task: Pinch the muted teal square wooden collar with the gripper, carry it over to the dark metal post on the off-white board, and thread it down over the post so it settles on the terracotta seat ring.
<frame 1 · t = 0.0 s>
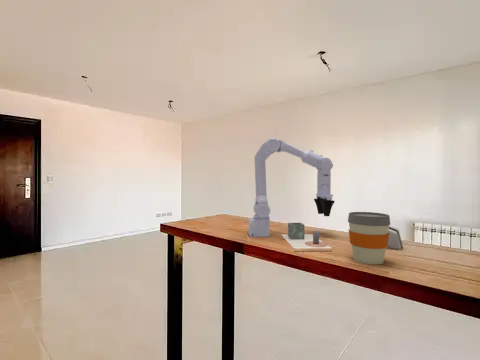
hand: (323, 214, 121), 10 cm above the table, tool pointing down, fingers open, 7 cm apart
post board: (303, 243, 110), on the table
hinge: (377, 246, 108), on the table
reusable coffee cup: (368, 260, 88), on the table
collar: (296, 237, 115), point 1 cm above the table, touching post board
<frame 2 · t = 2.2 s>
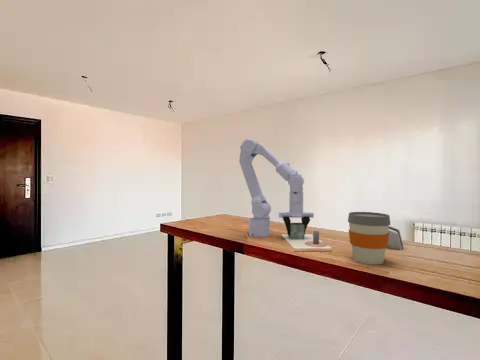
hand: (296, 234, 115), 3 cm above the table, tool pointing down, fingers closed on collar, 6 cm apart
collar: (296, 237, 115), point 1 cm above the table, touching gripper, post board
everything else where it was.
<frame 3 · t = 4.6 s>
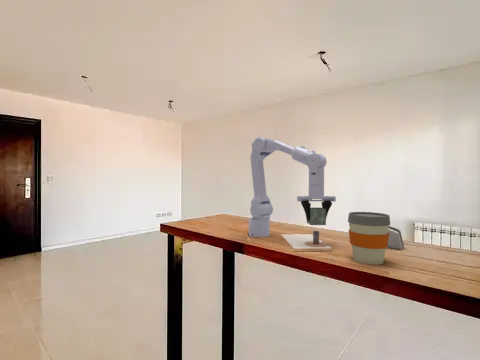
hand: (316, 220, 104), 10 cm above the table, tool pointing down, fingers closed on collar, 6 cm apart
collar: (316, 223, 104), point 9 cm above the table, touching gripper
everything else where it was.
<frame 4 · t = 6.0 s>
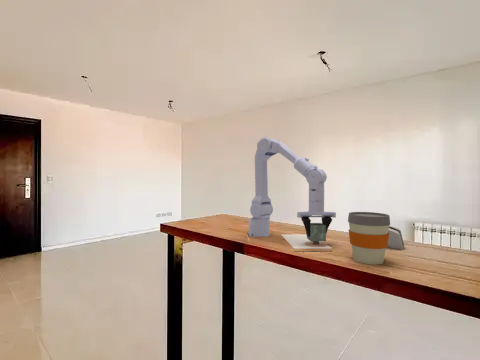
hand: (316, 236, 104), 4 cm above the table, tool pointing down, fingers closed on collar, 6 cm apart
collar: (316, 239, 104), point 3 cm above the table, touching gripper
everything else where it was.
when the fingers open (4 cm above the table, at t = 7.1 s): collar drops 1 cm, resting on post board.
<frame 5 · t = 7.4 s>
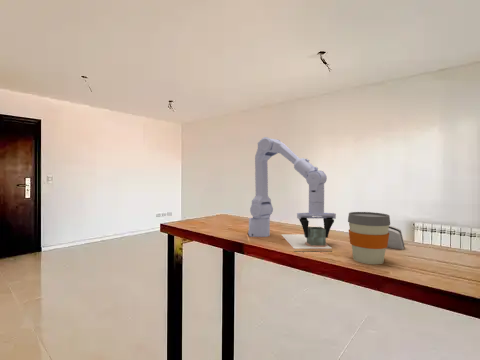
hand: (316, 237, 104), 4 cm above the table, tool pointing down, fingers open, 7 cm apart
collar: (315, 243, 104), point 1 cm above the table, touching post board
everything else where it was.
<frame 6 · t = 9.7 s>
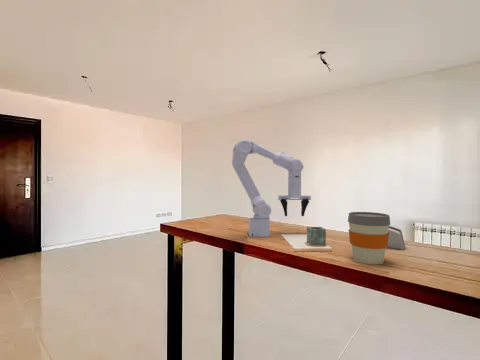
hand: (294, 215, 123), 9 cm above the table, tool pointing down, fingers open, 7 cm apart
nothing on the table moved.
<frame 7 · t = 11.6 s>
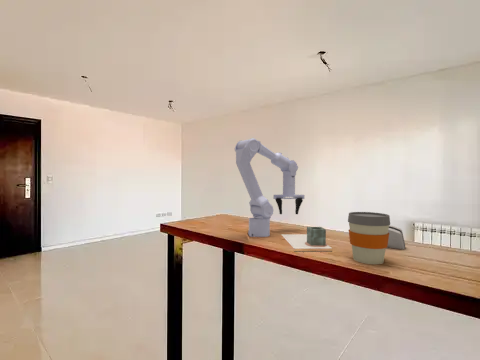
hand: (288, 214, 128), 9 cm above the table, tool pointing down, fingers open, 7 cm apart
nothing on the table moved.
at the end: collar 0.1 cm from the target spot on the post board, point 1.4 cm above the post board's base; collar tilted 0°; the gripper is holding nothing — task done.
